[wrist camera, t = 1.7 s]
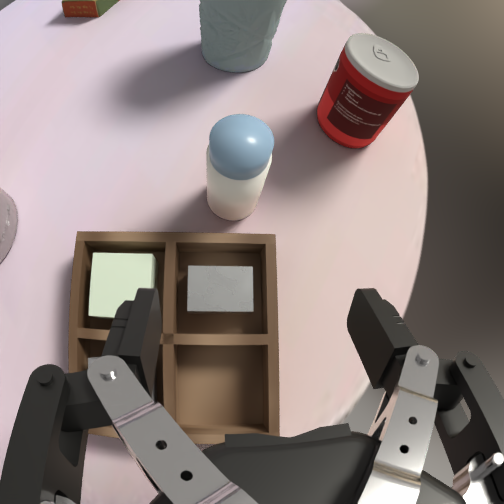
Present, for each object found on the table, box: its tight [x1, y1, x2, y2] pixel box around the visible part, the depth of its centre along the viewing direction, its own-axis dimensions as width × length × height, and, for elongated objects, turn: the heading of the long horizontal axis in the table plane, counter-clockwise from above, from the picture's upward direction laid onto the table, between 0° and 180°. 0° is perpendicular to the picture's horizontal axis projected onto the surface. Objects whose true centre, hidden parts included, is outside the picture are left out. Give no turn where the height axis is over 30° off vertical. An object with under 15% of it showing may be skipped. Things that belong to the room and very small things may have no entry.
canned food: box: [317, 33, 419, 148], centre depth 29 cm, size 8×8×11 cm
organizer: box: [68, 231, 280, 444], centre depth 24 cm, size 16×16×4 cm
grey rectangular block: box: [187, 266, 253, 314], centre depth 26 cm, size 5×4×2 cm
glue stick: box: [207, 114, 274, 221], centre depth 26 cm, size 5×5×10 cm
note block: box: [89, 253, 158, 319], centre depth 25 cm, size 5×5×3 cm
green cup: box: [199, 0, 287, 72], centre depth 30 cm, size 10×10×12 cm
